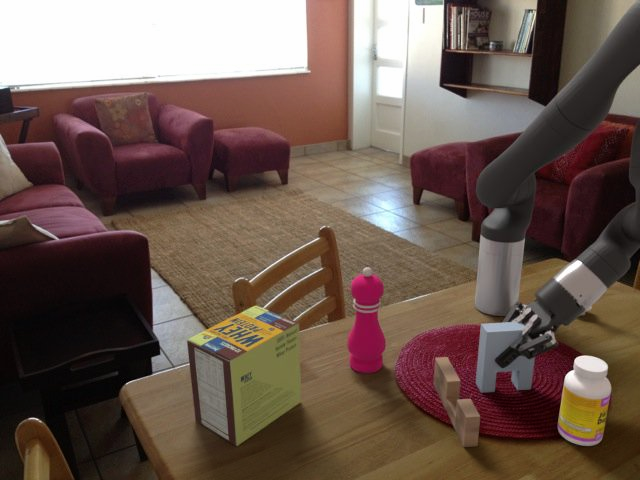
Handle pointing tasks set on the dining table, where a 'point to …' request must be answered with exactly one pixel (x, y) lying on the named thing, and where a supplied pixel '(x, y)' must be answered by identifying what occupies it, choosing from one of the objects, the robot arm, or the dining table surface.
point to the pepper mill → (366, 324)
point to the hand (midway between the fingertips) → (494, 358)
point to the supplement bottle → (585, 402)
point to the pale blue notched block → (492, 346)
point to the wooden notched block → (456, 403)
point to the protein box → (245, 373)
